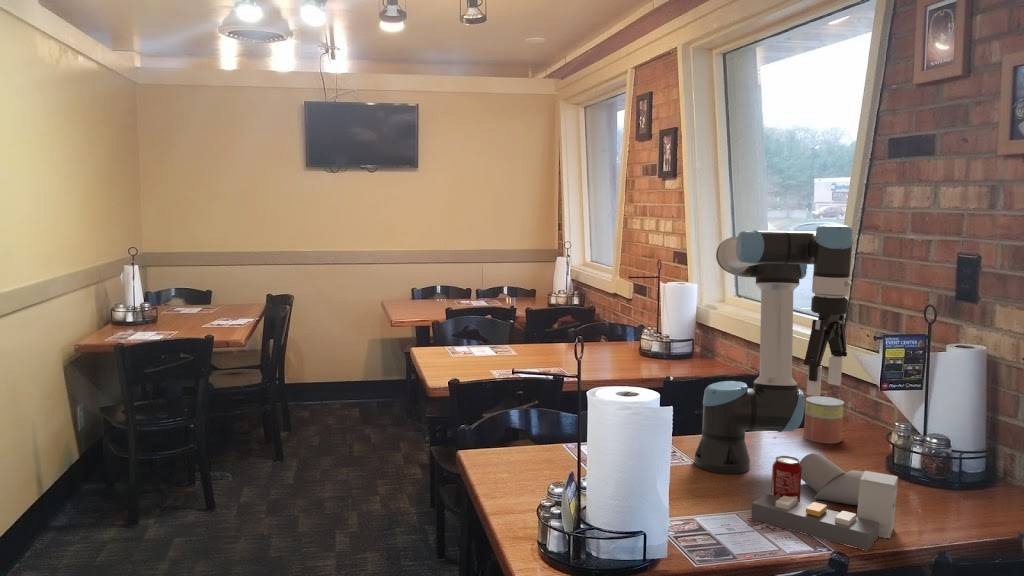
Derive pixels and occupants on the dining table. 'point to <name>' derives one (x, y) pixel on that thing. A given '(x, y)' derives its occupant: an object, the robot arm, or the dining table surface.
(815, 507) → the paddle mid
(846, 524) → the button panel
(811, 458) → the l-shaped cylinder
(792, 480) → the soda can
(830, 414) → the canned food
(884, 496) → the supplement box
